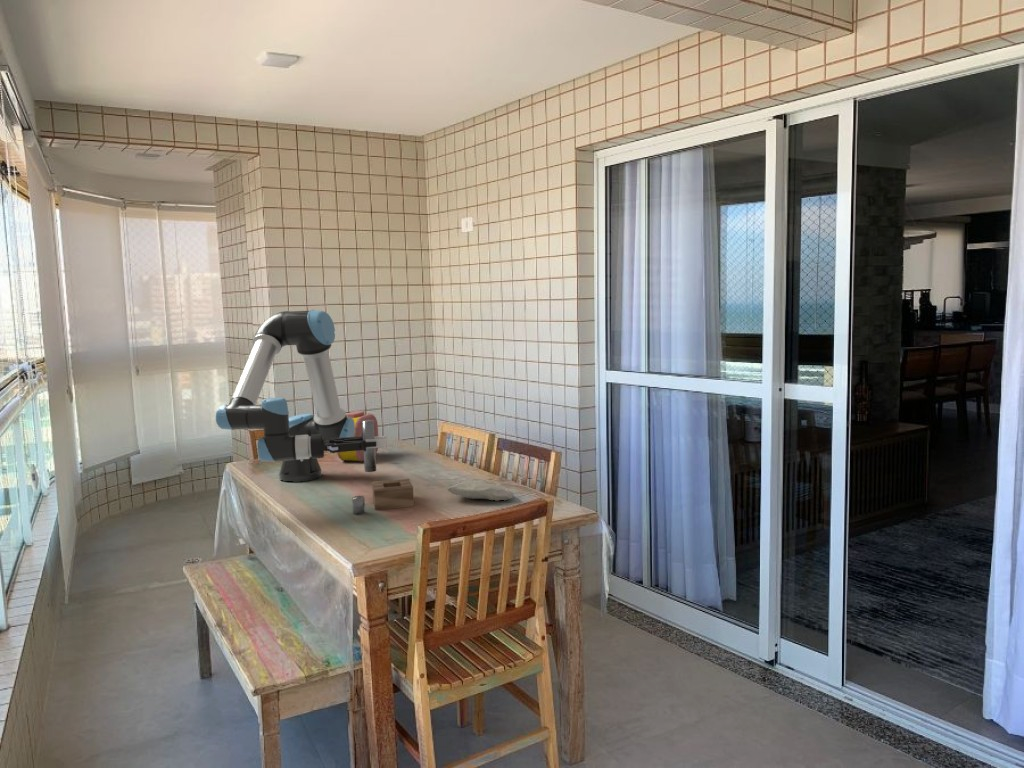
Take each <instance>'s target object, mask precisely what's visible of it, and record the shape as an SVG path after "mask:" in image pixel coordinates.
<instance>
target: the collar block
mask: <svg viewBox="0 0 1024 768" xmlns="http://www.w3.org/2000/svg"><path fill="white" fill-rule="evenodd" d="M371 488H372V489H371V491H372V503H373V506H374V510H375V511H378V509H379V510H389V509H398V508H407V507H408V508H409V507H414V506H415V503H414V499H415V498H414V487H413V485H412V482H411V481H410V478H403V479H392V480H380V481H379V480H378V481H372V482H371Z"/></svg>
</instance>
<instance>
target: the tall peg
mask: <svg viewBox="0 0 1024 768" xmlns="http://www.w3.org/2000/svg"><path fill="white" fill-rule="evenodd" d="M362 429H363V440H364V441H366V440H369V439H375V435H374V420H363V421H362ZM376 456H377V453H376V454H375V448H368V449H366V451H364V461H363V463H364V472H365V473H373V472H377V460H376V459H377V458H376Z"/></svg>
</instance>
